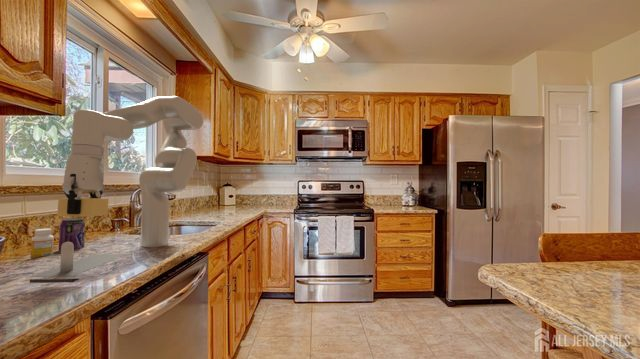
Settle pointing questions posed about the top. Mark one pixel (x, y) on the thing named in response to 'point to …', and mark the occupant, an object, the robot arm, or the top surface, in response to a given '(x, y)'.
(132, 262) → the top surface
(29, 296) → the top surface
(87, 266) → the keeper board
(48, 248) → the supplement bottle
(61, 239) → the beverage can
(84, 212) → the tan hollow block
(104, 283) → the top surface
